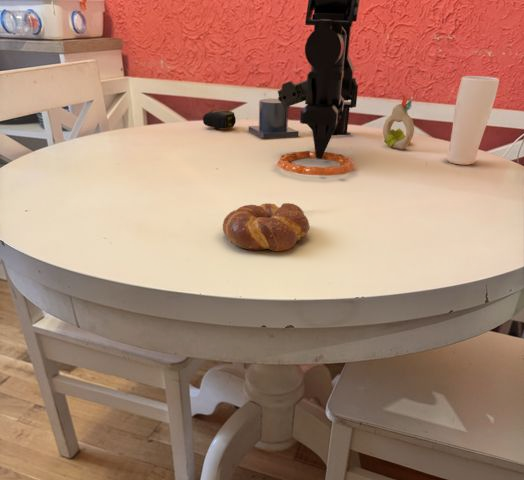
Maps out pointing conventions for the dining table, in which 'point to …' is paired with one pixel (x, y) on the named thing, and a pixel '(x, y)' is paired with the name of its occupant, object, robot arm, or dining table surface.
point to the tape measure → (219, 119)
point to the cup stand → (272, 121)
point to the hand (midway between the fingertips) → (319, 156)
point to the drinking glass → (471, 117)
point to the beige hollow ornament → (397, 137)
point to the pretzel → (266, 226)
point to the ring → (324, 171)
